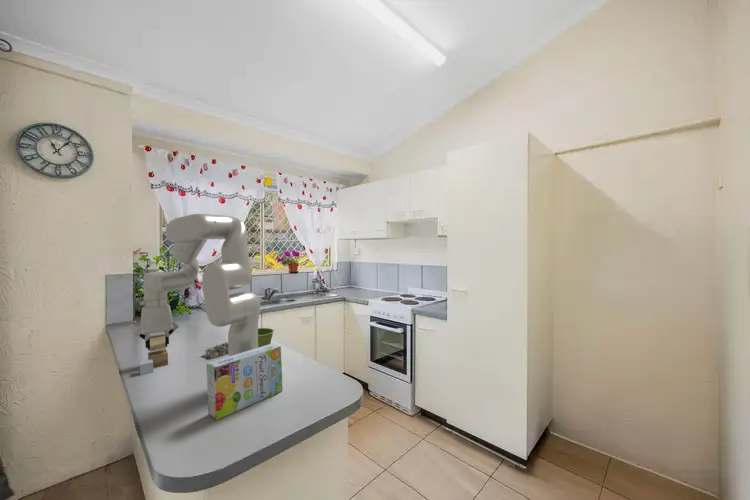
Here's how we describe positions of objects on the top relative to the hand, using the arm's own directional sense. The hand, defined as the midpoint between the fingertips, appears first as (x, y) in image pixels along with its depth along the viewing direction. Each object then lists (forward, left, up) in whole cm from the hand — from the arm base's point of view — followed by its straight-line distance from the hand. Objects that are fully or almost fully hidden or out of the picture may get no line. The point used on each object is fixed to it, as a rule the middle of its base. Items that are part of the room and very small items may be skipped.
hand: (157, 347), depth 125 cm
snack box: (-54, -19, -7) cm, 58 cm away
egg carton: (-3, -22, -8) cm, 23 cm away
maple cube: (0, 0, -1) cm, 1 cm away
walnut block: (0, 0, -7) cm, 7 cm away
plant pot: (-20, -34, -7) cm, 40 cm away
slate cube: (-6, +4, -7) cm, 10 cm away
